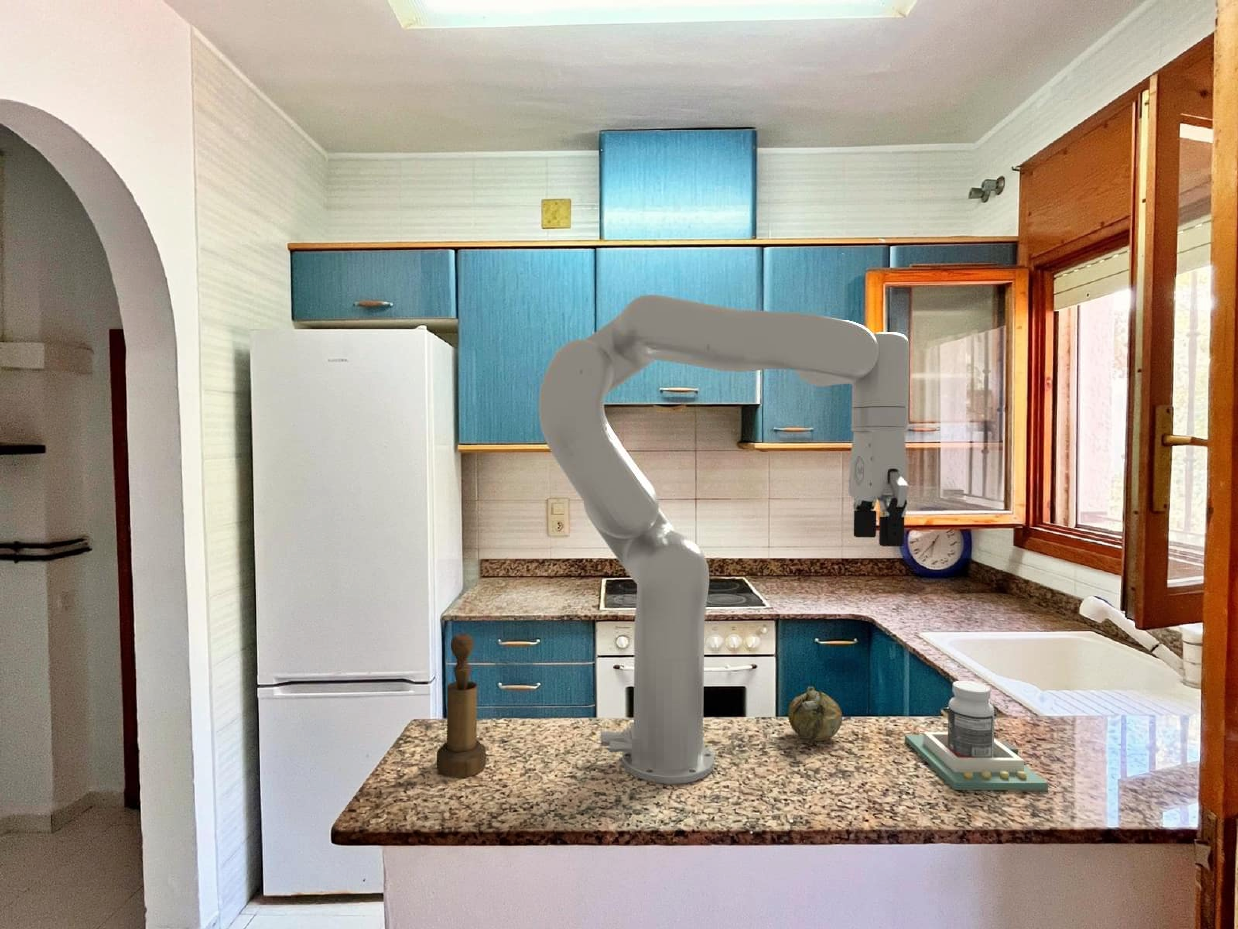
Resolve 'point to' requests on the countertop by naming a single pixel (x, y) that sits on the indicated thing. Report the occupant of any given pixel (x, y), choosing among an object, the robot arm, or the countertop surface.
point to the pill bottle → (971, 721)
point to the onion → (815, 716)
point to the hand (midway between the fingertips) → (877, 541)
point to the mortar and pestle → (461, 719)
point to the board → (976, 765)
